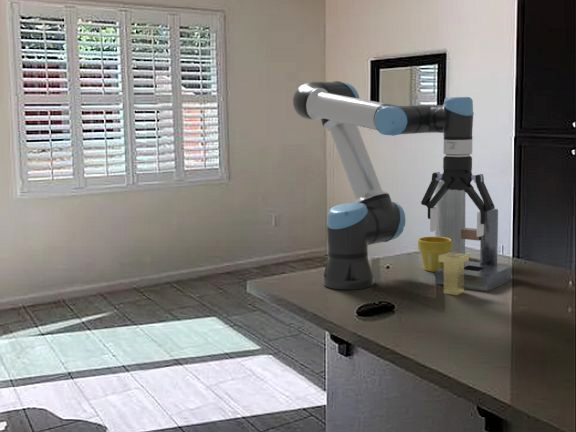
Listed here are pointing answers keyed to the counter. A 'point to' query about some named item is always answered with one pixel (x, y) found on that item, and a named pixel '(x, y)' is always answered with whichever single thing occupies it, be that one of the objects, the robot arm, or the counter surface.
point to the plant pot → (433, 251)
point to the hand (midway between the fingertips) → (456, 233)
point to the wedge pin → (453, 272)
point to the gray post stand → (482, 259)
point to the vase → (451, 217)
